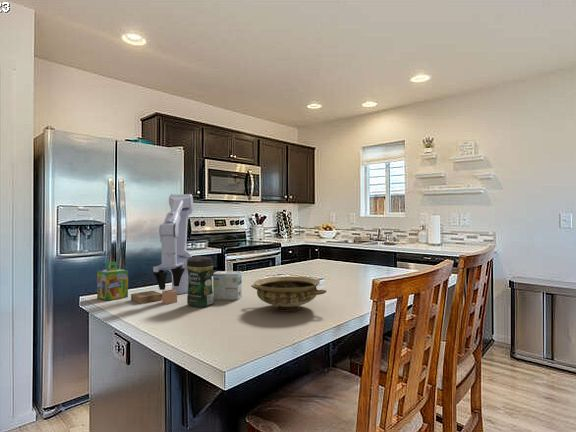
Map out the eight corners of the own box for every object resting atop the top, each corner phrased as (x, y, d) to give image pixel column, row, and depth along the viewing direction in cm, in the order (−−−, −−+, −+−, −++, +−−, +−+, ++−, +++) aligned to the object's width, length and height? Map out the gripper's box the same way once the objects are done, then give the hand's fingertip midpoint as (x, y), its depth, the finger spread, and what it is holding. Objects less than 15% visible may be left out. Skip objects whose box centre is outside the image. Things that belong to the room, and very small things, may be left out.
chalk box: (107, 301, 146) (106, 264, 146) (96, 298, 152) (95, 263, 152) (129, 297, 154) (128, 262, 154) (117, 294, 159) (117, 260, 159)
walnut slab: (152, 297, 154) (152, 290, 154) (162, 301, 148) (162, 293, 148) (131, 301, 148) (130, 293, 148) (140, 305, 141) (139, 297, 141)
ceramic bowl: (338, 305, 135) (337, 279, 135) (310, 323, 114) (310, 291, 114) (269, 297, 150) (268, 273, 150) (233, 311, 129) (233, 283, 129)
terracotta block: (172, 300, 147) (172, 289, 147) (177, 302, 144) (177, 290, 144) (162, 302, 144) (162, 291, 144) (167, 304, 141) (166, 292, 141)
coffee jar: (183, 305, 138) (182, 256, 138) (198, 301, 145) (198, 254, 145) (201, 308, 133) (201, 258, 133) (217, 304, 140) (216, 255, 140)
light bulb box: (242, 296, 153) (242, 270, 153) (238, 300, 146) (238, 273, 146) (217, 296, 154) (217, 270, 154) (212, 299, 147) (212, 273, 147)
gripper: (174, 251, 152) (175, 284, 152) (147, 254, 139) (147, 290, 139) (187, 252, 149) (188, 285, 149) (160, 255, 136) (161, 292, 136)
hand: (169, 287), depth 144 cm, fingers open, 7 cm apart
